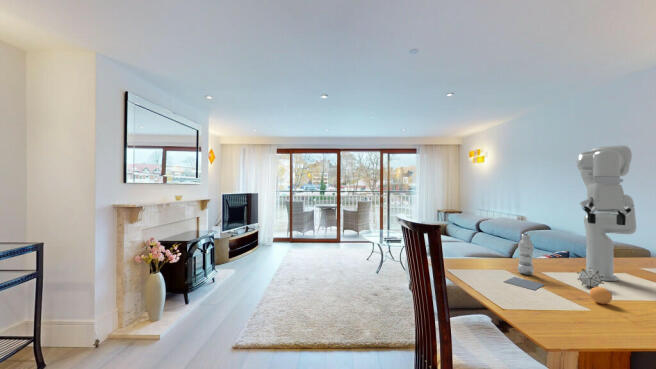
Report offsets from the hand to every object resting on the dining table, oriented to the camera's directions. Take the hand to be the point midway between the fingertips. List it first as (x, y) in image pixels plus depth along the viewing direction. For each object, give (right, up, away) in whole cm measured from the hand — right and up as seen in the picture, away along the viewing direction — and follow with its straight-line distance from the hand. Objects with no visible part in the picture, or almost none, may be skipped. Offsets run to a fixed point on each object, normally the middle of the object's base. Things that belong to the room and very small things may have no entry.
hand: (606, 224), depth 108 cm
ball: (-8, -26, -6) cm, 28 cm away
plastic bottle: (-12, -30, +28) cm, 43 cm away
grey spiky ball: (+5, -30, +12) cm, 32 cm away
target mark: (-22, -29, +15) cm, 39 cm away
